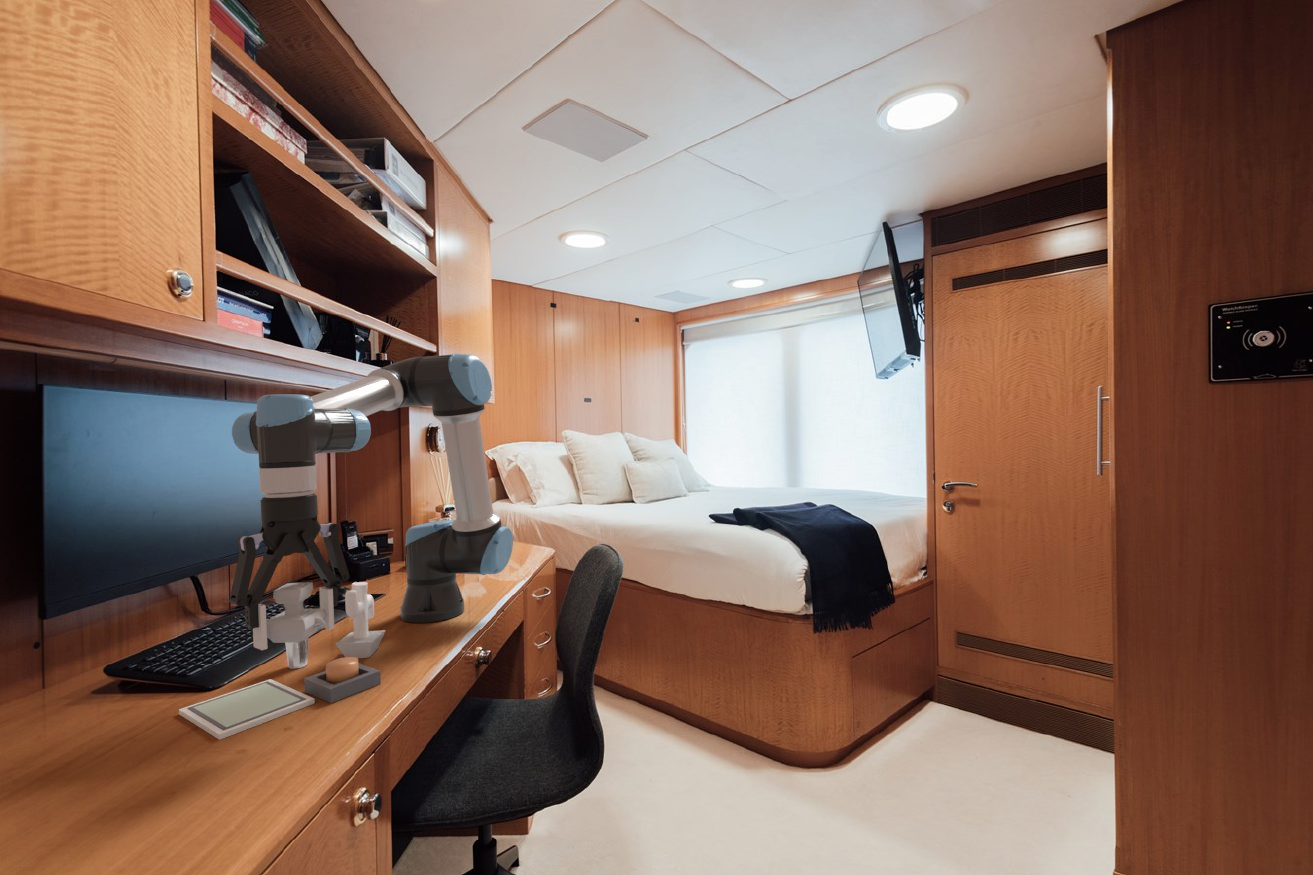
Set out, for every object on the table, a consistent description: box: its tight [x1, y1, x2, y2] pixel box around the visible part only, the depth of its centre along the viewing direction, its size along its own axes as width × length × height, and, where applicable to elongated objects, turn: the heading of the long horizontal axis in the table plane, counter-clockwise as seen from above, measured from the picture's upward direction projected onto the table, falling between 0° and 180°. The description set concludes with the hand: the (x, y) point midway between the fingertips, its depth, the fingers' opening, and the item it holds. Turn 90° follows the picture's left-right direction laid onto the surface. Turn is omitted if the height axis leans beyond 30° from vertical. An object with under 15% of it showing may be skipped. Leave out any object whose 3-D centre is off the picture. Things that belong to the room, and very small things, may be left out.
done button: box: [325, 656, 359, 685], centre depth 109 cm, size 5×5×3 cm
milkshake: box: [284, 636, 310, 670], centre depth 119 cm, size 5×5×10 cm
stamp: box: [266, 581, 327, 644], centre depth 94 cm, size 9×7×8 cm
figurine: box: [335, 581, 387, 659], centre depth 125 cm, size 7×9×15 cm
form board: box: [178, 678, 316, 741], centre depth 101 cm, size 14×16×1 cm
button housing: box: [303, 662, 382, 704], centre depth 109 cm, size 9×9×2 cm
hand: (295, 637), depth 94 cm, fingers closed on stamp, 9 cm apart
